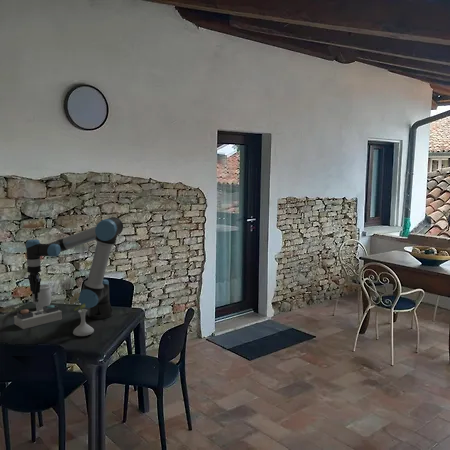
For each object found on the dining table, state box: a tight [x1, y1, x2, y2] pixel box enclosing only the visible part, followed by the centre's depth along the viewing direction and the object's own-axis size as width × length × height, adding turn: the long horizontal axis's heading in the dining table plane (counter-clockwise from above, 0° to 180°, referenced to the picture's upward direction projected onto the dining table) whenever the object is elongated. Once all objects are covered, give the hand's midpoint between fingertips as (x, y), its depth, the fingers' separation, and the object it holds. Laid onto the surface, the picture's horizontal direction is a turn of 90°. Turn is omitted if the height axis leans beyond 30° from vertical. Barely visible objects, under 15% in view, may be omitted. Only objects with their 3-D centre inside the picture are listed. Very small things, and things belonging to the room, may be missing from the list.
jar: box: [38, 284, 52, 310], centre depth 310 cm, size 11×10×15 cm
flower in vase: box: [68, 292, 95, 337], centre depth 262 cm, size 13×11×25 cm
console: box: [13, 304, 63, 330], centre depth 285 cm, size 12×24×8 cm, turn 136°
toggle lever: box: [35, 299, 39, 312], centre depth 284 cm, size 2×2×8 cm
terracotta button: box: [20, 308, 30, 315], centre depth 279 cm, size 4×4×2 cm
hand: (35, 303), depth 286 cm, fingers closed
